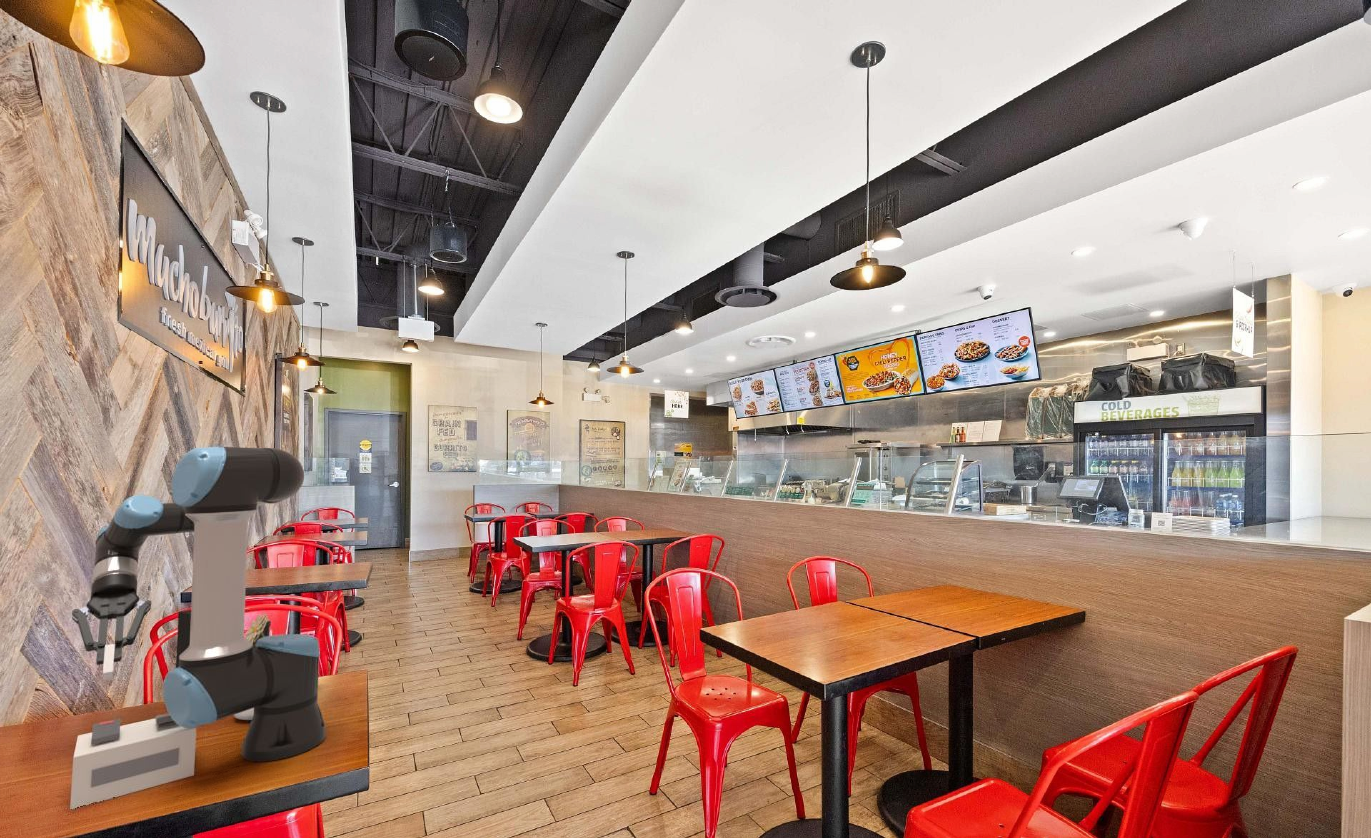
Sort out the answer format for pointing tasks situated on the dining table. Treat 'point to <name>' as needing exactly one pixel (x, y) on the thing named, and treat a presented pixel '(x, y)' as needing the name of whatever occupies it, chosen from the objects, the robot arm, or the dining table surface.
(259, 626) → the flower in vase
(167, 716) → the block
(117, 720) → the rocker outer
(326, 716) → the dining table surface
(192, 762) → the switch box
